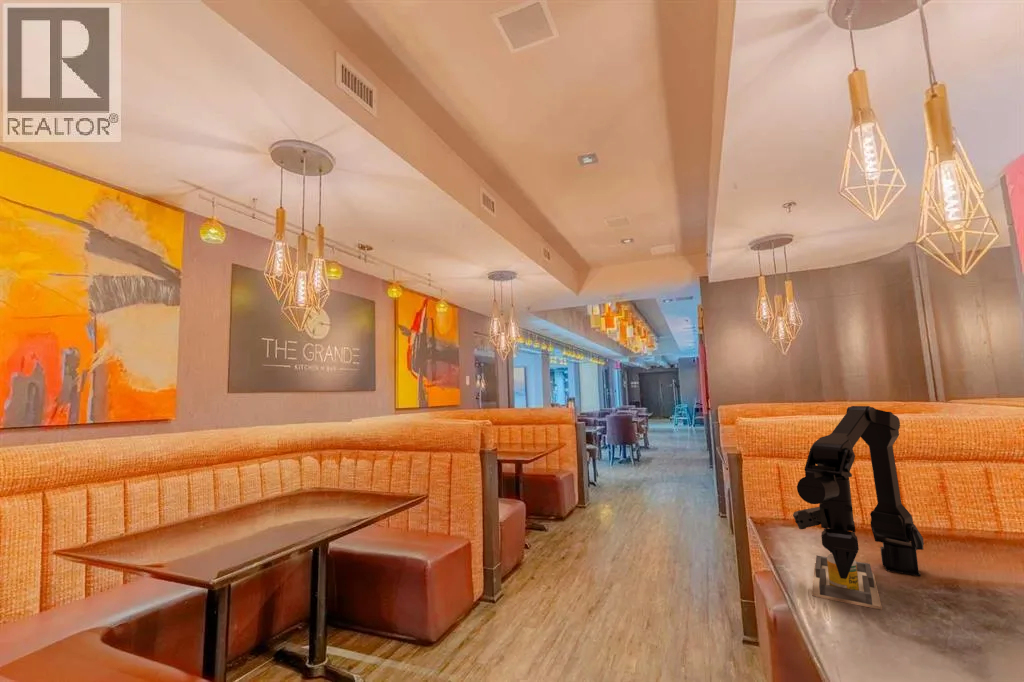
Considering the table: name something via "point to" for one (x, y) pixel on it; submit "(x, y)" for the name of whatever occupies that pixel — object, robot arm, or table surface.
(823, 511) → the robot arm
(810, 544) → the table surface
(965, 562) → the table surface
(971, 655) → the table surface
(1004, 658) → the table surface
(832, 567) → the supplement bottle
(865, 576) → the grey flat frame
